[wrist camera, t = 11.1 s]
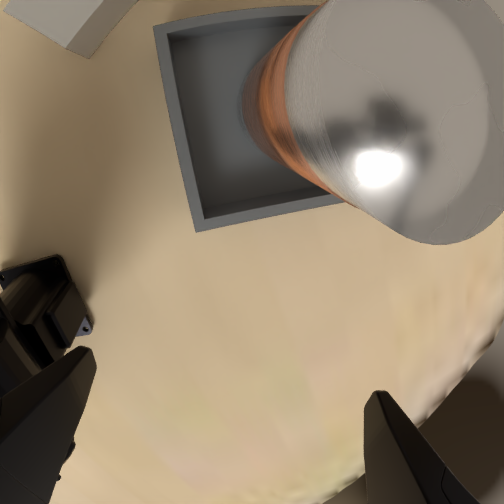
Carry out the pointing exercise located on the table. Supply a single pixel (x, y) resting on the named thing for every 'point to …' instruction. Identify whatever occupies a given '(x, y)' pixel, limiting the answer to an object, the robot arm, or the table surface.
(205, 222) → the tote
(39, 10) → the grey rectangular block
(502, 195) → the steel can
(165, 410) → the table surface
